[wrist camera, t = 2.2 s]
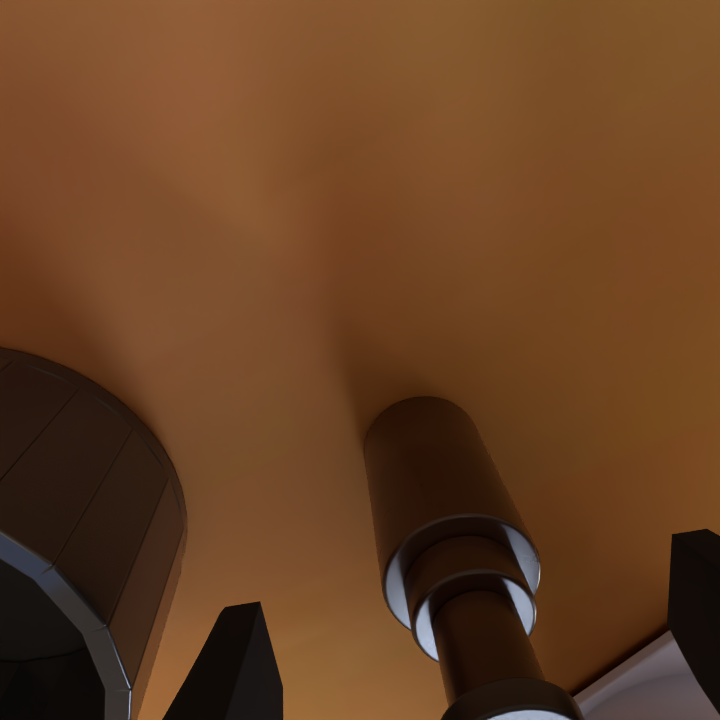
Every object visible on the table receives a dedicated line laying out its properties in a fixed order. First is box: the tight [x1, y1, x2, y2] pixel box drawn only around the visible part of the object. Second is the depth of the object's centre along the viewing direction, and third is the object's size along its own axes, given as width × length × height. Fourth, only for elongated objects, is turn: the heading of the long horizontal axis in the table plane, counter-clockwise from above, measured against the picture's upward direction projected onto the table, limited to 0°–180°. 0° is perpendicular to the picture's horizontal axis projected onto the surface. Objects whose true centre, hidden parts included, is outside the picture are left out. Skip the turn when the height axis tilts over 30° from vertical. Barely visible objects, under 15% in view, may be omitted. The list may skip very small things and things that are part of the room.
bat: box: [364, 397, 585, 720], centre depth 12 cm, size 3×3×8 cm
